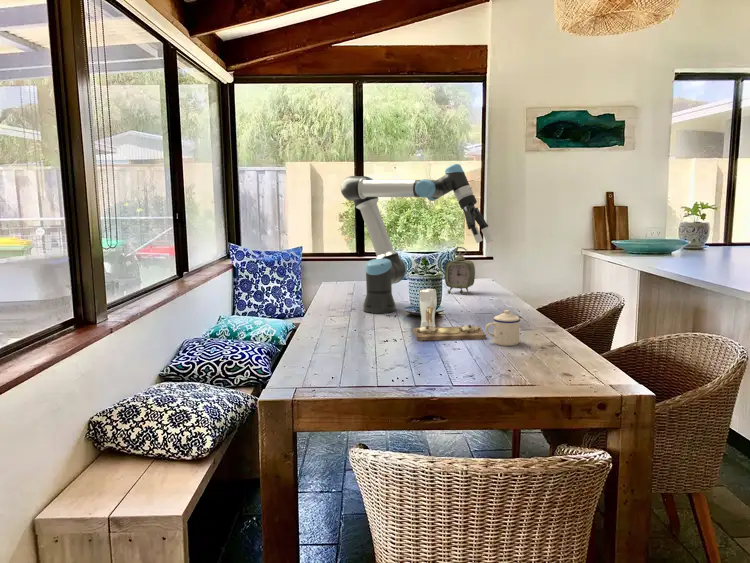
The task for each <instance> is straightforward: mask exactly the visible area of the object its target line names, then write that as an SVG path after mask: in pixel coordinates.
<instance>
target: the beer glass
mask: <svg viewBox="0 0 750 563" xmlns="http://www.w3.org/2000/svg"><path fill="white" fill-rule="evenodd" d="M437 301H438V298H437V289H434V288H422V289H419V295H418V306H419V312H420V316H421V317H420V318H421V320H420V326H419V328H420V327H426V326H429V327H430V326H431V327H436V322H435V321H436V320H435V318H436V317H435V315H436V310H437Z"/></svg>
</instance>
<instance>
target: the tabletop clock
mask: <svg viewBox="0 0 750 563" xmlns="http://www.w3.org/2000/svg"><path fill="white" fill-rule="evenodd" d="M457 249H463V250H465V252H464V253H462V252H461V251H459V252H456V250H457ZM453 252H454V254H455V255H457V256H456V257H455V258H454V259H455V260H451V261H448V262H446V264H445V267H444V283H445V285H446V287H448V288H450V289H449V290H447V294H450V293H451V291H452V289H460V290H459V293H460V294H461V293H463V292H464V291H463V289H466V294H467V295H470V294H471V293H470V292H471V291H469V289H468V288H469V287H472V286H473V285H474V284H475V279H476V278H475V277H476V268H475V264H474V262H473V261H471V260H467V259H466V258H465V256H464V255H466V254H467V249H466V248H465V247H464V246H457V247H455V248H454V250H453Z"/></svg>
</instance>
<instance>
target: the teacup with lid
mask: <svg viewBox="0 0 750 563" xmlns="http://www.w3.org/2000/svg"><path fill="white" fill-rule="evenodd" d="M520 321H521V319H520V317H519V315H518V316H517V315H515V314H514V313H511V312H510V310H509V309H505V310H504V311H503V312H502V313H500V314H499V315H495V316H494V317H493V322H489V323H487V324H486V325H485V327H484V328H485V329H484V330H485V333H486V334H487V335H488V336H489V337H492V338H493V342H494V343H495V345H499V346H503V347H504V346H505V347H511V346H516V345H517V346H518V344H519V342H520ZM490 326H493V331H494V332H493V334H492V333H490V332H489V330H488V329H489V327H490Z"/></svg>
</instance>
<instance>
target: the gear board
mask: <svg viewBox="0 0 750 563" xmlns="http://www.w3.org/2000/svg"><path fill="white" fill-rule="evenodd" d="M413 334H414V337H415V338H417V339H416V341H417V342H421V341H422V342H424V341H425V340H428V341H454V340H453V339H466V340H486V339H487V335H486V334H485V332H484V331H483V330H482V329H481V327H480V326H476V325H474V324H473V325H472V324H468V325H461V326H440V327H439V326H437V327H431V326H430V327H429V326H426V327H420V326H419V327H413ZM423 340H424V341H423Z"/></svg>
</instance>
